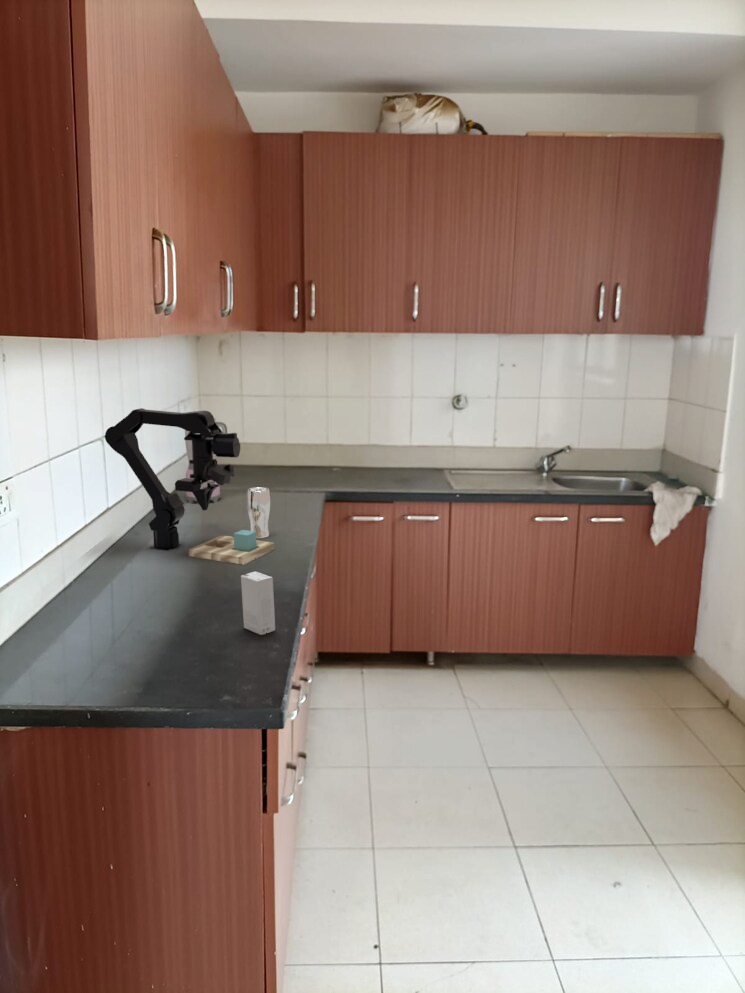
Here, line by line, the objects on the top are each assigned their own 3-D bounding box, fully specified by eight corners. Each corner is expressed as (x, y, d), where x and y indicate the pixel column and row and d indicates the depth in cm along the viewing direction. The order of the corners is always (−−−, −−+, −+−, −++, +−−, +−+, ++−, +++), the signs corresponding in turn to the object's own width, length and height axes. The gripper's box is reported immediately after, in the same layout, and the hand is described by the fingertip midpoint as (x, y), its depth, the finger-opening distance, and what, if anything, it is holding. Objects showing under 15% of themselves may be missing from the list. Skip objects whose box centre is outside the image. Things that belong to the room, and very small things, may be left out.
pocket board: (189, 557, 210) (188, 549, 209) (222, 543, 224) (222, 535, 224) (243, 566, 203) (243, 557, 202) (274, 551, 217) (274, 542, 217)
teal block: (234, 555, 211) (233, 533, 209) (243, 551, 215) (242, 529, 213) (248, 557, 209) (247, 535, 207) (256, 553, 213) (256, 531, 211)
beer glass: (249, 540, 228) (248, 492, 224) (246, 534, 234) (245, 487, 231) (272, 539, 229) (271, 491, 226) (269, 533, 236) (268, 486, 233)
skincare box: (276, 630, 161) (275, 576, 158) (259, 636, 157) (258, 581, 155) (258, 622, 165) (256, 570, 162) (241, 628, 162) (240, 574, 159)
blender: (186, 505, 272) (183, 416, 264) (185, 497, 283) (181, 412, 276) (231, 502, 276) (228, 415, 269) (227, 495, 287) (225, 412, 280)
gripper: (206, 463, 200) (208, 520, 203) (245, 453, 216) (246, 506, 220) (172, 460, 204) (175, 516, 207) (213, 450, 221) (215, 502, 224)
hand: (204, 510), depth 214 cm, fingers closed
